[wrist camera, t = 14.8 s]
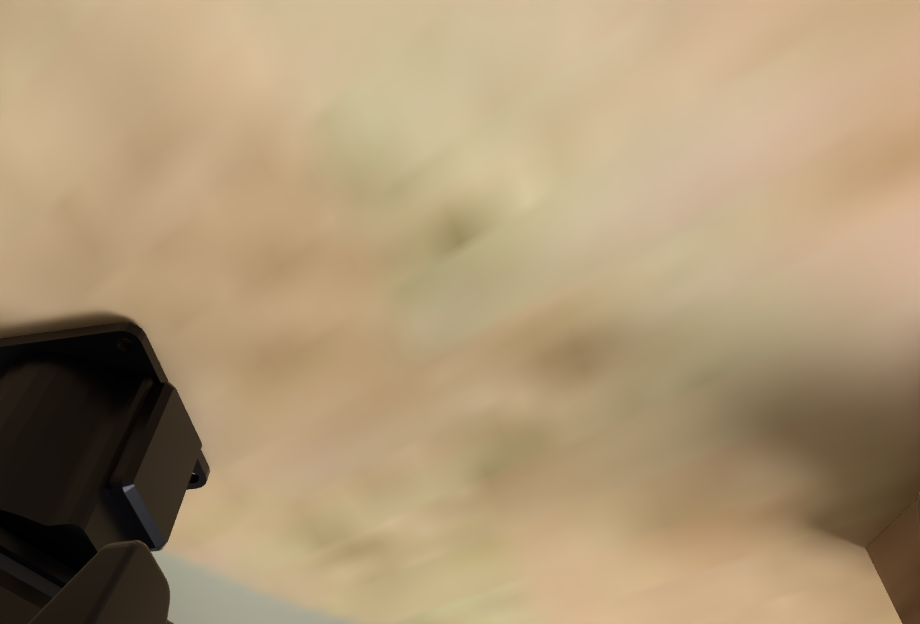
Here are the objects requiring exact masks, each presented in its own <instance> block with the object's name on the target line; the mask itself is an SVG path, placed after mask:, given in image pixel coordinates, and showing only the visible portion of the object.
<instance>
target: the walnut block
mask: <svg viewBox="0 0 920 624" xmlns="http://www.w3.org/2000/svg"><path fill="white" fill-rule="evenodd" d="M917 501H918V498H917V499H916V500H915V501H914V502H913V503H912V504H911V505H910V506H909V507H908V508H907V509H906V510H905V511H904V512H903V513H902V514H901V515H900V516H899V517H898V518H897V519H895V520H894V521H893V522H892V523H891V524H890V525H889V526H888V527H887V528H886V529H885V530H884V531H883V532H882V533H881V534H880V535H879V536H878V537H877V538H876V539H875V540H874V541H873V542H872V543H871V544H870V545H868V546H867V547H866V550H867V552H868V554H869V556H870V558H871V560H872V562H873V564H874V566H875V568H876V570H877V573H878V575H879V577H880V579H881V581H882V583H883V585H884V587H885V589H886V591H887V593H888V595H889V597H890V599H891V601H892V603H893V605H894V607H895V609H896V611H897V613H898V615H899V617H900V619H901V622H902V624H920V524H919V521H918V516H917Z"/></svg>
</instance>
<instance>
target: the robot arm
mask: <svg viewBox="0 0 920 624" xmlns="http://www.w3.org/2000/svg"><path fill="white" fill-rule="evenodd" d="M122 338H127V339H129V340H131V341H132V342H133V343H127V342H125V341H123V339H122ZM201 447H202V443H201V441H200V439H199V436H198V434H197V432H196V430H195V428H194V426H193V424H192V422H191V420H190V417H189V415H188V413H187V411H186V409H185V407H184V405H183V403H182V400H181V398H180V396H179V394H178V392H177V390H176V388H175V387H174V386H173V385H172V384H171V383H170V382H168V380H167V378H166V375H165V373H164V371H163V369H162V367H161V365H160V363H159V361H158V359H157V357H156V354H155V352H154V350H153V348H152V346H151V344H150V342H149V340H148V338H147V336H146V334H145V332H144V331H143V330H142V329H141V328H140V327H138V326H137V325H135V324H132V323H116V324H108V325H101V326H94V327H86V328H79V329H72V330H64V331H57V332H50V333H42V334H35V335H28V336H20V337H13V338H5V339H0V624H173V623H172V622H170V621H168V620H167V617H168V610H169V604H170V590H169V585H168V582H167V579H166V578H165V576H164V574H163V572H162V571H161V569H160V567H159V566H158V564H157V562H156V560H155V559H154V557H153V555H152V553H151V551H159V550H162V549H163V547H164V546H165V545H166V543H167V542H168V539H169V537H170V534H171V531H172V528H173V525H174V523H175V520H176V517H177V514H178V511H179V509H180V506H181V503H182V500H183V497H184V495H185V492H186V490H188V489H196V488H200V487H202V486H204V485H205V484H206V481H207V479H208V476H209V473H210V469H209V466H208V464H207V462H206V459H205V457H204V455H203V453H202V451H201ZM192 473H195V474H192ZM917 516H918V521H919V524H920V492H919V497H918V501H917Z"/></svg>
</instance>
